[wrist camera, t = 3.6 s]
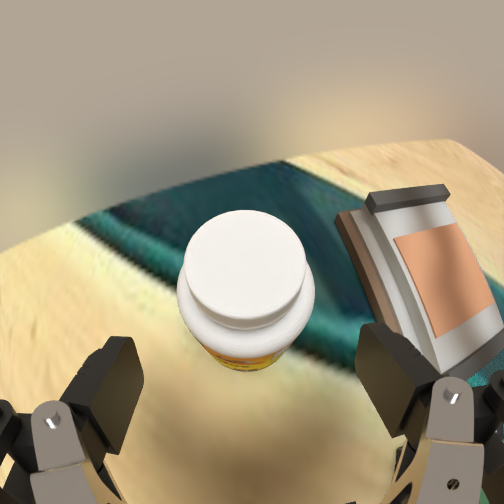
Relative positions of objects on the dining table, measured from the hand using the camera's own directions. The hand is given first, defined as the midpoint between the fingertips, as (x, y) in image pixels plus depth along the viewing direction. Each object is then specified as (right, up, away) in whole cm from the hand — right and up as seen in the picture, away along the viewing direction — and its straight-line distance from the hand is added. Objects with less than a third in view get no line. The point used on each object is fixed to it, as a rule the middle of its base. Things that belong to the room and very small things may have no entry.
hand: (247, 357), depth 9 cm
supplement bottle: (0, -2, +9) cm, 9 cm away
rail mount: (+15, 0, +10) cm, 18 cm away
